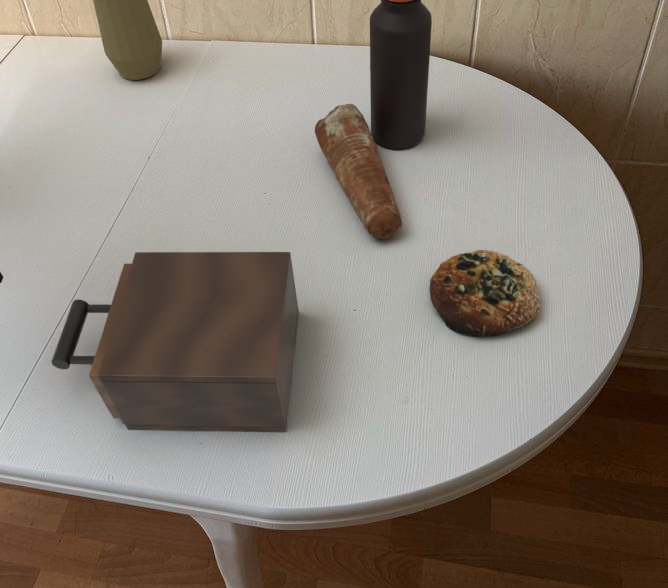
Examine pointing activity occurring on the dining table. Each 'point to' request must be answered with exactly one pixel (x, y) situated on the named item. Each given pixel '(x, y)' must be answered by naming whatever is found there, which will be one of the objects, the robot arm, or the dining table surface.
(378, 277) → the dining table surface
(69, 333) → the drawer
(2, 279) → the robot arm
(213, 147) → the dining table surface
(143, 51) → the squeeze bottle
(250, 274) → the cabinet
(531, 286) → the bread roll
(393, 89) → the vinegar
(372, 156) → the bread
